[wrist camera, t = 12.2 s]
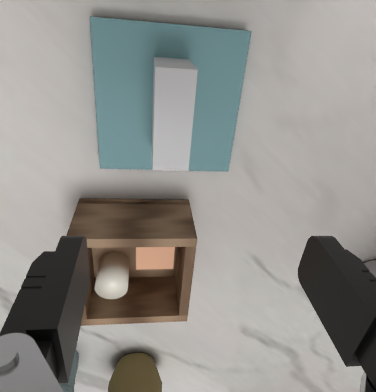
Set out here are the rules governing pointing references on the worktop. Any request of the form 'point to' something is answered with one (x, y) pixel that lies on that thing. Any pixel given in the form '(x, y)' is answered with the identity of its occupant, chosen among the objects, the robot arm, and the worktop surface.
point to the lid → (166, 93)
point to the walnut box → (126, 243)
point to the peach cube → (154, 258)
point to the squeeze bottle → (135, 375)
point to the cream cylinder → (112, 275)
